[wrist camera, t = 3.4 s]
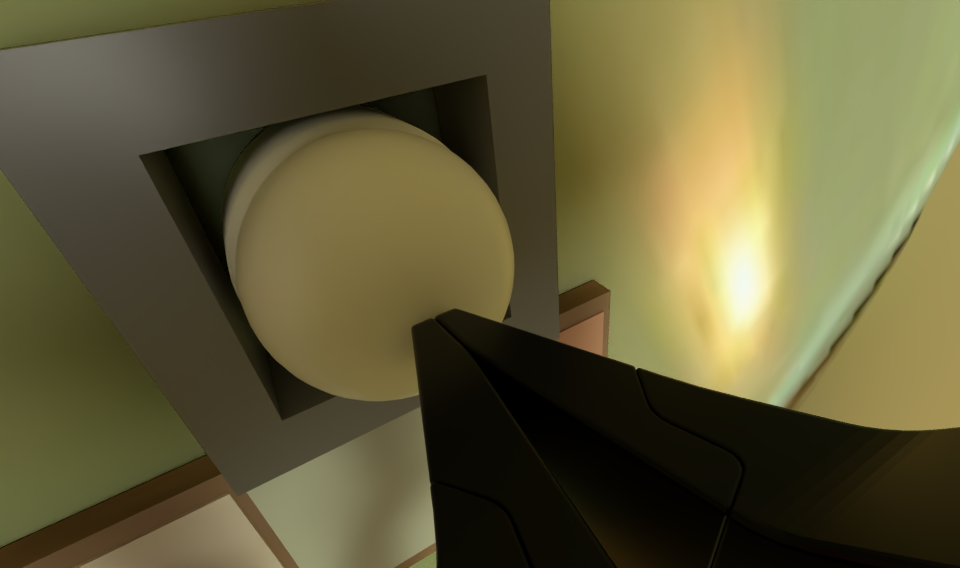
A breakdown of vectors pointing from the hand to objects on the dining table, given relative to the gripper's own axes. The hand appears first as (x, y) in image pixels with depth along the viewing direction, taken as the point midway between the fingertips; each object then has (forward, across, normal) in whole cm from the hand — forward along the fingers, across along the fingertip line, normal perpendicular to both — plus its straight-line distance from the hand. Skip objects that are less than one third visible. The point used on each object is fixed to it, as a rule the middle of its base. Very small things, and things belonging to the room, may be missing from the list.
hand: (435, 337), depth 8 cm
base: (+6, 0, 0) cm, 6 cm away
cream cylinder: (+6, 0, 0) cm, 6 cm away
